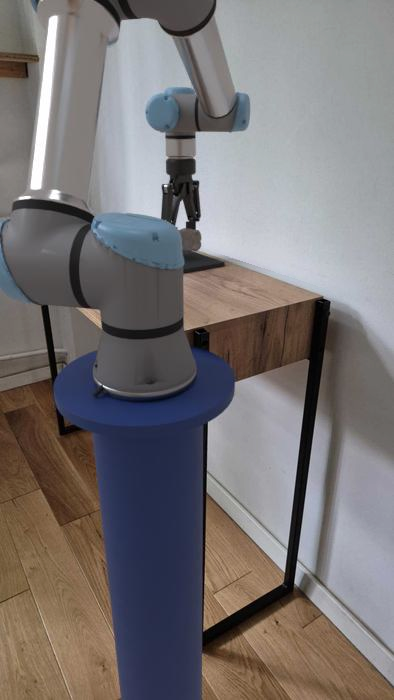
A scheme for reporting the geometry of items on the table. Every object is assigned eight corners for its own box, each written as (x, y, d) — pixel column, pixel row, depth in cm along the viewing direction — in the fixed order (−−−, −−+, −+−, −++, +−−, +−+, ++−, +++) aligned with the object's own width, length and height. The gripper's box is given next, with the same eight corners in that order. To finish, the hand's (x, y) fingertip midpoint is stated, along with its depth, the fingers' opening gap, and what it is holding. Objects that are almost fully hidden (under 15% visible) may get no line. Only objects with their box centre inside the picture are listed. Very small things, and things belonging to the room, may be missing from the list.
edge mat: (224, 266, 127) (224, 262, 127) (179, 273, 120) (179, 269, 120) (184, 251, 143) (184, 248, 142) (142, 257, 136) (142, 254, 135)
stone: (205, 247, 133) (205, 225, 130) (196, 253, 126) (196, 231, 123) (172, 245, 135) (171, 223, 133) (161, 251, 128) (160, 229, 126)
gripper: (191, 155, 130) (191, 240, 140) (142, 159, 115) (147, 254, 124) (214, 156, 127) (213, 243, 136) (168, 160, 111) (171, 258, 120)
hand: (182, 248), depth 130 cm, fingers closed on stone, 8 cm apart
